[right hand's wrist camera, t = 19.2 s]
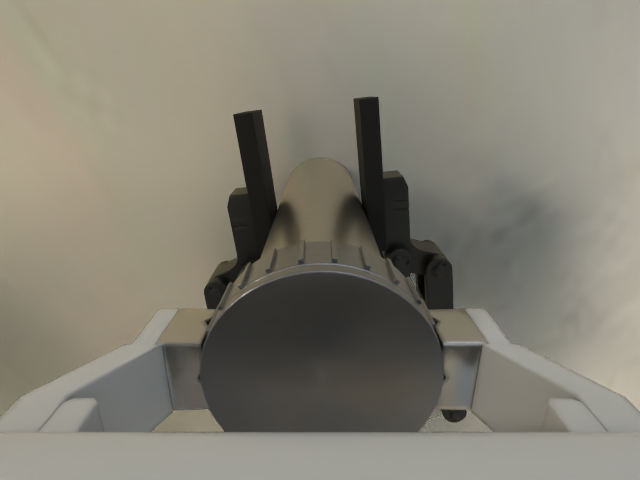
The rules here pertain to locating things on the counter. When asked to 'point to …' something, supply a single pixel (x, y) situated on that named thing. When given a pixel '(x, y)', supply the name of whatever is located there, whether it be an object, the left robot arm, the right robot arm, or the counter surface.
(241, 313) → the lid
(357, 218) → the jar
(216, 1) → the counter surface
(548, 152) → the counter surface
